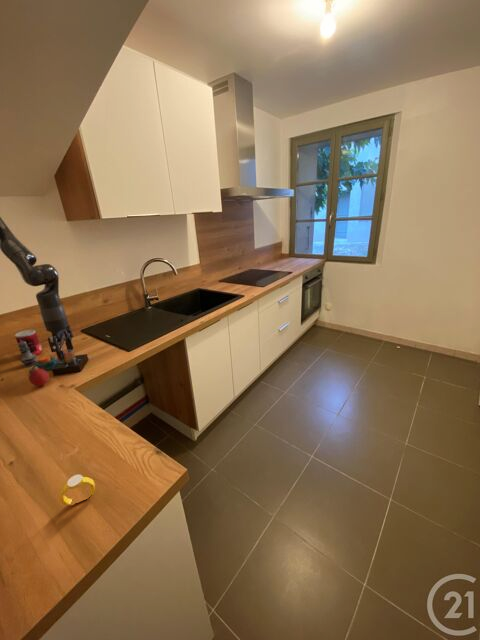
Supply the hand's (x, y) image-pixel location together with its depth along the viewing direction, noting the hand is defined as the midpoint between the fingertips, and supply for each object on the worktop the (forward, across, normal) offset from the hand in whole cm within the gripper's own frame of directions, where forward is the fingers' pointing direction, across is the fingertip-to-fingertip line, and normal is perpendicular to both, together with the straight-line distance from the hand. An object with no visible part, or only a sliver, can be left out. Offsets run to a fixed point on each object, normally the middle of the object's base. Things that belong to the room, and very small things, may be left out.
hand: (66, 354), depth 107 cm
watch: (+7, -62, -25) cm, 67 cm away
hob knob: (+4, 0, 0) cm, 4 cm away
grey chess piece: (+7, +9, +20) cm, 23 cm away
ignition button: (+4, +4, +11) cm, 12 cm away
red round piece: (+7, -11, +6) cm, 14 cm away
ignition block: (+7, +4, +11) cm, 13 cm away
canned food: (+7, +20, +24) cm, 32 cm away
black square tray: (+7, 0, 0) cm, 7 cm away
